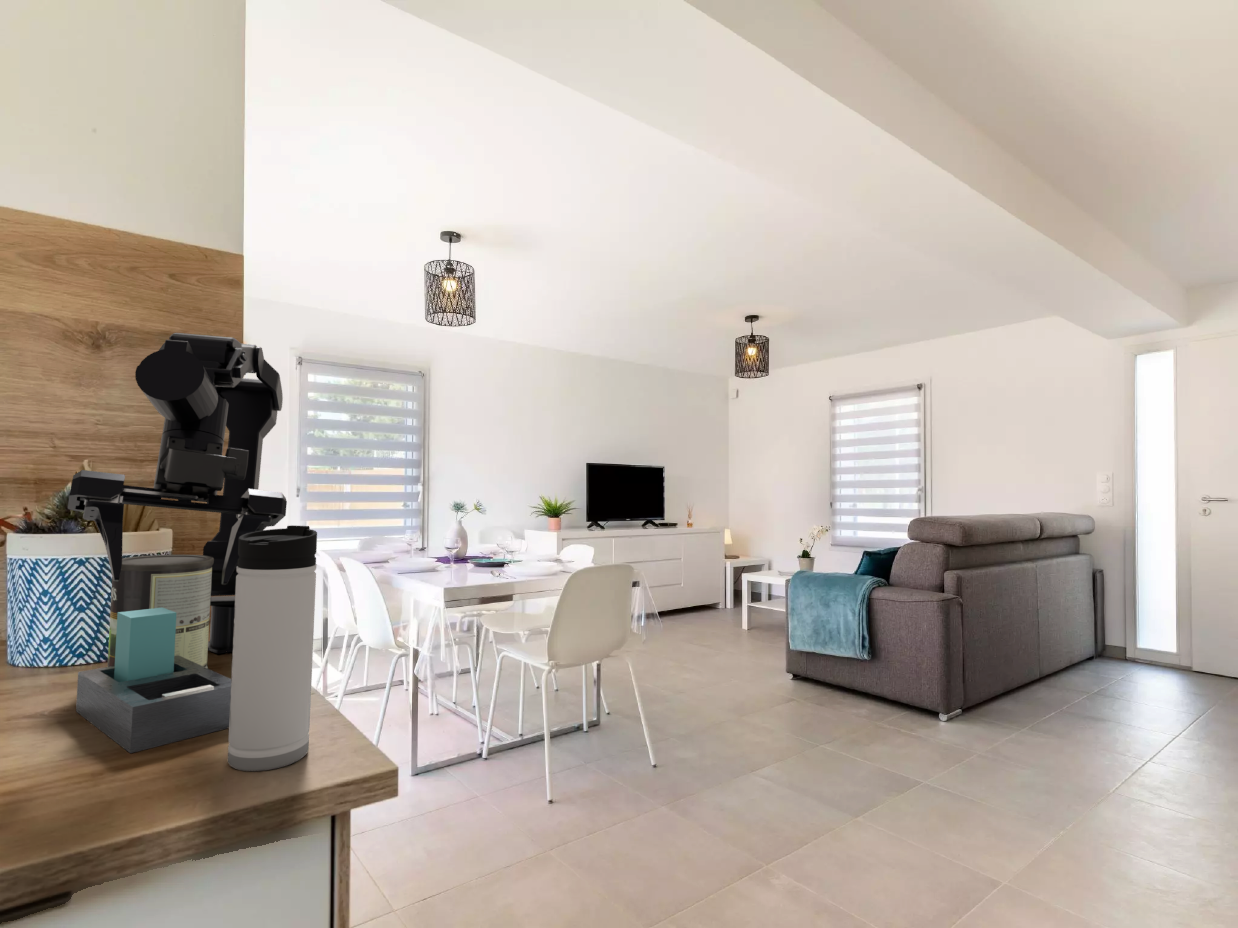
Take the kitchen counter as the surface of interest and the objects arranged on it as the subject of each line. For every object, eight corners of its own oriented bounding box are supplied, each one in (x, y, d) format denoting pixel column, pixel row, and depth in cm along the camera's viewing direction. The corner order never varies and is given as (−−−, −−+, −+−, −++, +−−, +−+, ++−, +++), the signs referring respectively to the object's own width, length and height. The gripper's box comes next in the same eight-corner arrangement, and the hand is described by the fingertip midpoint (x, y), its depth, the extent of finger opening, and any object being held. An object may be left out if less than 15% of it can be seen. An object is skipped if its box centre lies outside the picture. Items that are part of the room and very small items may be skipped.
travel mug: (324, 743, 60) (333, 526, 61) (280, 774, 54) (291, 531, 54) (260, 739, 61) (270, 524, 62) (209, 769, 54) (221, 528, 55)
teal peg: (112, 709, 68) (117, 612, 68) (157, 700, 71) (162, 607, 71) (125, 718, 65) (130, 617, 66) (171, 708, 68) (176, 612, 69)
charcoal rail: (75, 711, 67) (78, 668, 67) (176, 690, 74) (178, 652, 74) (130, 753, 57) (132, 703, 57) (239, 724, 64) (241, 680, 64)
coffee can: (90, 690, 73) (97, 564, 74) (123, 666, 83) (129, 554, 83) (197, 683, 77) (203, 563, 77) (216, 660, 87) (221, 553, 87)
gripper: (88, 393, 60) (53, 562, 55) (305, 430, 72) (293, 572, 66) (83, 433, 68) (52, 584, 63) (279, 460, 80) (266, 590, 74)
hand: (172, 582), depth 67 cm, fingers open, 9 cm apart
